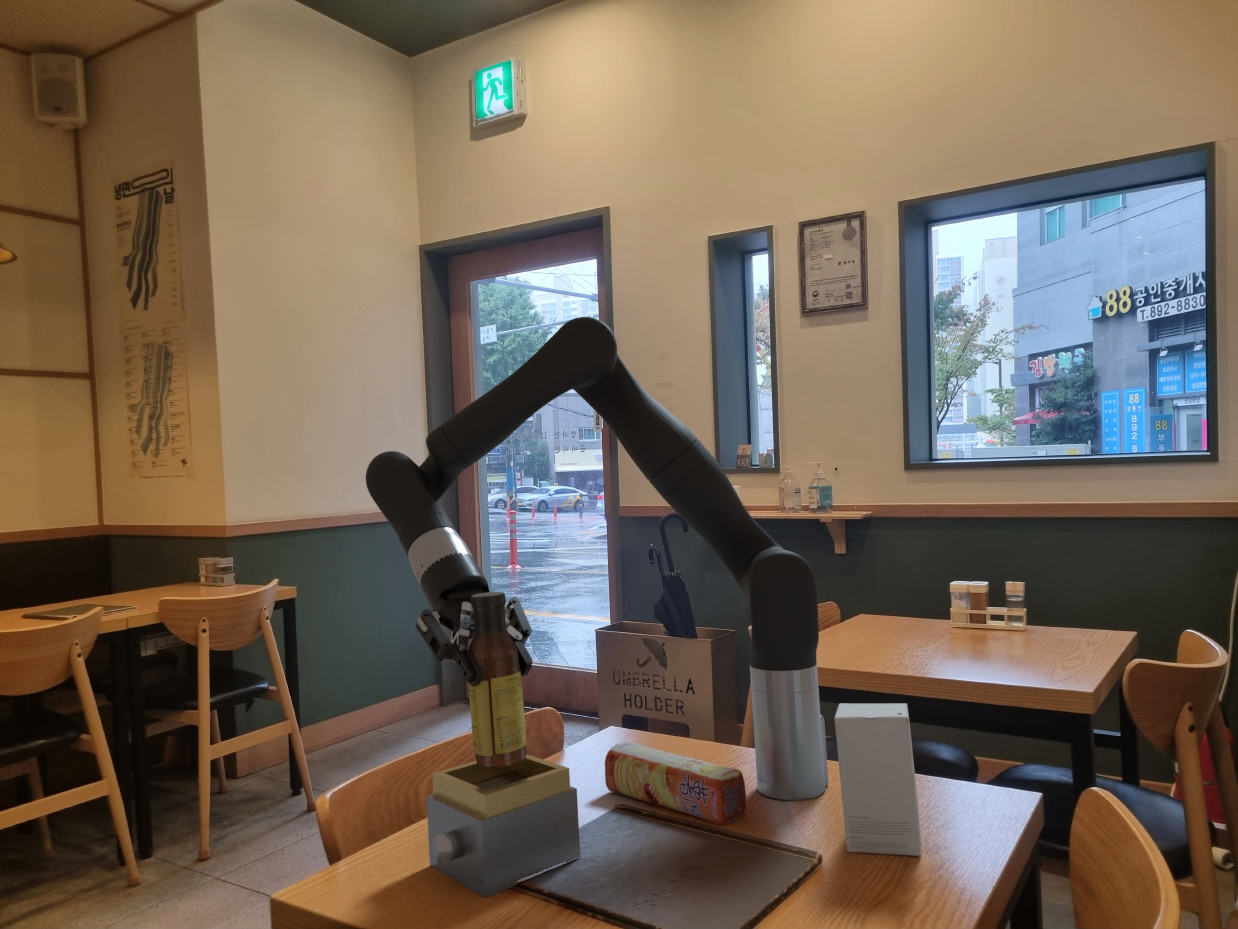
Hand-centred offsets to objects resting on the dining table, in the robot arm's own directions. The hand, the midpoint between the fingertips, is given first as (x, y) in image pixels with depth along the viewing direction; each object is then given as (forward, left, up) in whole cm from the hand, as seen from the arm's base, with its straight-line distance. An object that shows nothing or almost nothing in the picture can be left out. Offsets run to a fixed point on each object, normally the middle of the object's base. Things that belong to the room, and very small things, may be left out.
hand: (503, 676), depth 98 cm
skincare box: (-32, +28, -22) cm, 48 cm away
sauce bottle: (0, -2, -10) cm, 11 cm away
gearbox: (0, -2, -22) cm, 22 cm away
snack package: (-26, 0, -22) cm, 34 cm away
